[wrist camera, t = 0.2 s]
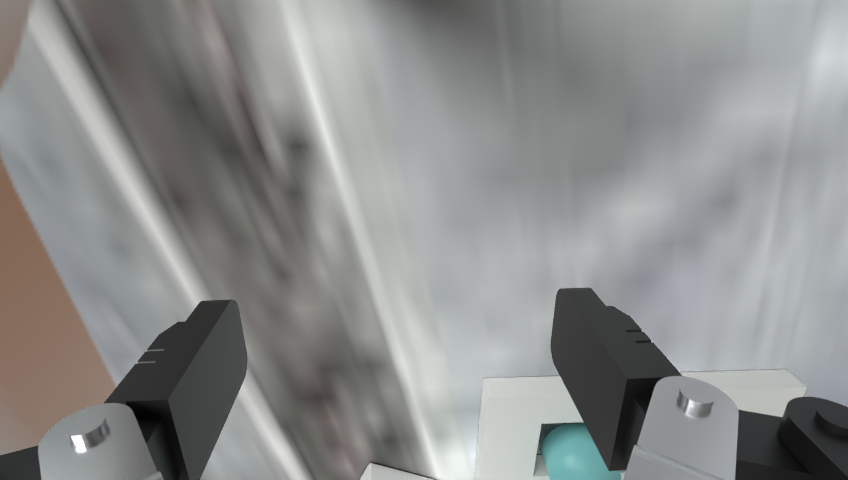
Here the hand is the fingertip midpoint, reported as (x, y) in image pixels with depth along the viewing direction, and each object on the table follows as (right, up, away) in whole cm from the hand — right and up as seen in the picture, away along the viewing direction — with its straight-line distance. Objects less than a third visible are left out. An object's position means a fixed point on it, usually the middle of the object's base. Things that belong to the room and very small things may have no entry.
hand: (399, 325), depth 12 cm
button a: (+12, -14, +25) cm, 31 cm away
